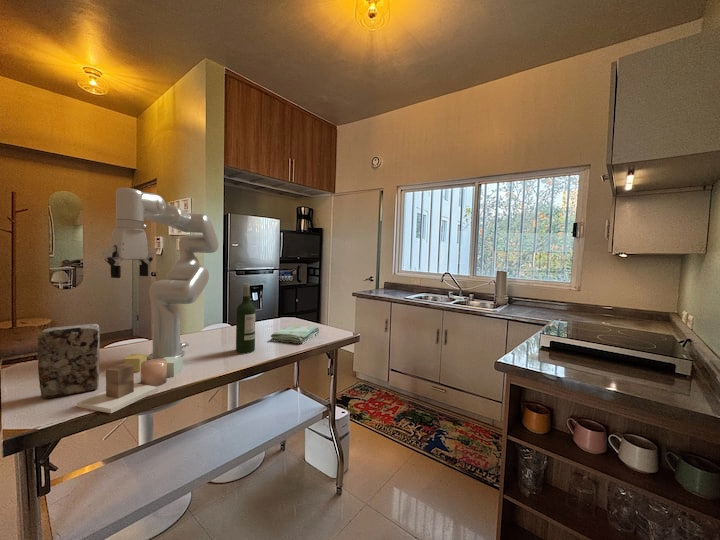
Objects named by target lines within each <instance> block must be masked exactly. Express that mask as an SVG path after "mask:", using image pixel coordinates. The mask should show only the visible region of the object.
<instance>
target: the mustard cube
mask: <svg viewBox="0 0 720 540" xmlns="http://www.w3.org/2000/svg"><path fill="white" fill-rule="evenodd" d="M147 360H148V355H147V353H135V354H129V355H128V356H126V357H124V358H123V364H127V365H134V373H141V363H142V362H144V361H147Z"/></svg>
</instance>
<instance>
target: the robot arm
mask: <svg viewBox="0 0 720 540" xmlns="http://www.w3.org/2000/svg"><path fill="white" fill-rule="evenodd" d="M145 221H147V222H151V223H155V224H159V225H164V226H167V227H170V228H173V229H175V230H178V231H179V232H183V233H193V234H186V235H185V234H184V235H183V236H181V237H180V238H179V241H178V249H179V250H178V251H179V258H178V259H177V261H176V262H175V264H174V265H173V266H172V267H171V268H170V269H169V271H168V272H167V274H166V279H160V280H156V281H154V282H153V283H152V284H151V285H150V287H149V290H148V293H149V294H148V295H149V299H150V303H151V310H152V322H151V323H152V325H151V326H152V330H151V331H152V353H150V354H148V355H147V360H151V359H163V358H165V357H184V355H185V351H184V350H183V348H186V347H188V346H189V345H190V343H189V341H185V342H183V343H182V342H181V311H180V309H179V308H178V304H179V305H189V304H194V302H196V301H197V299H199V297H200V295H201V294H202V292H203V291H204V289H205V288H206V286H207V284H208V282H209V278H210V274H209V269H207V267H206V266H204V265H200V261H199V259H198V257H197V256H196V255H195V253H199V254H201V253H202V254H203V253H204V254H213V253H215V252H217V251H218V249H219V239H218V236H217V234H216V233H217V232H216V231H215V229H214V225H213V224H212V221H211V219H210V217H209V216H208V215H206V214H205V213H189V212H186V211H185V210H183V209H181V208H179V206H178V207H177V206H176V205H173V204H167V203H166V201H165V199H164V198H163V197H162V196H161V195H159V194H157V193H151V192H144V191H141V190H140V189H136V188H130V187H119V188H116V191H115V228H114V229H112V232H111V236H110V242H109V243H110V245H109V248H107V249H105V250H102V251H101V255H102V257H103V258H104V261H106V262H107V264H108V266H110V278H111V279H120V278H122V276H121V275H122V274H121V273H122V271H121V269H122V267H121V265H120V264H121V262H123V260H124V261H128V260H129V261H136V260H138V261H139V263H140V264H139V265H138V266H139V270H138V271H139V276H140V277H148V276H149V266H150V265H151V263H152V261H153V260H154V257H155V255H156V254H155V252H154V251H152V250H151V249H149V244H148V238H147V233H146V231H145V229H146V227H147V225H146V224H145ZM194 233H197V234H194Z"/></svg>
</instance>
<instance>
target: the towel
mask: <svg viewBox="0 0 720 540" xmlns="http://www.w3.org/2000/svg"><path fill="white" fill-rule="evenodd" d="M319 332H320V328H319V327H317V326H302V325H301V326H300V325H299V326H295V325H288V326H285V327H283V328H281V329H279V330H277V331H275V332H273V333H271V334H270V337H271V339H270V340H271V341H272V340H273V341H272V342H278V341H281V343H289V342H293V343H292V344H296V343H303V342H305V341H307V340H308V339H310V338H312V337H313V336H314V335H316V334H317V335H318V334H319ZM312 339H313V338H312ZM274 340H275V341H274Z"/></svg>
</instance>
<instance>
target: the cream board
mask: <svg viewBox="0 0 720 540" xmlns="http://www.w3.org/2000/svg"><path fill="white" fill-rule="evenodd" d="M158 391H159V386H157V387H155V386H149V385H143V384H141V383H136V382H134V392H132V393H130V394H128V395H125V396H123V397H121V398H119V399H118V398H112V397H106V390H104V391H102V392H100V393H97V394H94V395H91V396H89V397H87V398H84V399H82V400H79V401H78V402H76V406H77V407H78V408H81V409H87V410H92V411H97V412H103V413H106V414H112V413H114V412H117V411H119V410H121V409H123V408H125V407H127V406H129V405H131V404H133V403H136V402H138V401H139V400H142V399H143V398H146V397H148V396H149V395H153V394H154V393H157V392H158Z"/></svg>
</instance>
